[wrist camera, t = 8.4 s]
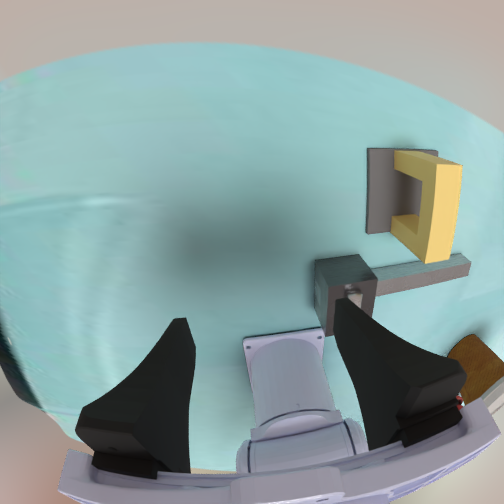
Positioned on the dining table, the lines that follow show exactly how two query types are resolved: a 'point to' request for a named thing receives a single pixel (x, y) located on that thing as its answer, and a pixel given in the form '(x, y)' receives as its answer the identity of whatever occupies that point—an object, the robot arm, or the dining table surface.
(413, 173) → the yellow pull handle
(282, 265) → the dining table surface
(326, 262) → the grey block with bar
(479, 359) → the disposable coffee cup
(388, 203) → the rubber mat
